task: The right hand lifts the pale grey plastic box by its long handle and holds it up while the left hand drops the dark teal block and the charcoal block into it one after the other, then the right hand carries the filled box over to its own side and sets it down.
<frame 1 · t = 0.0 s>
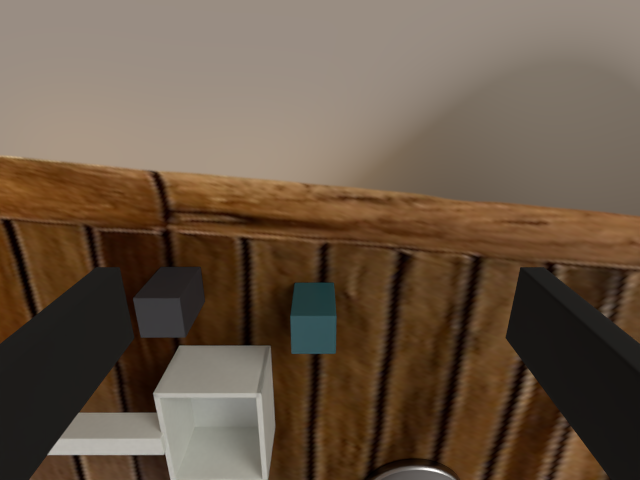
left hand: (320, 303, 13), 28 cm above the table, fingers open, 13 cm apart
teal block: (314, 299, 45), on the table
handled box: (229, 387, 50), on the table
charcoal block: (183, 284, 44), on the table
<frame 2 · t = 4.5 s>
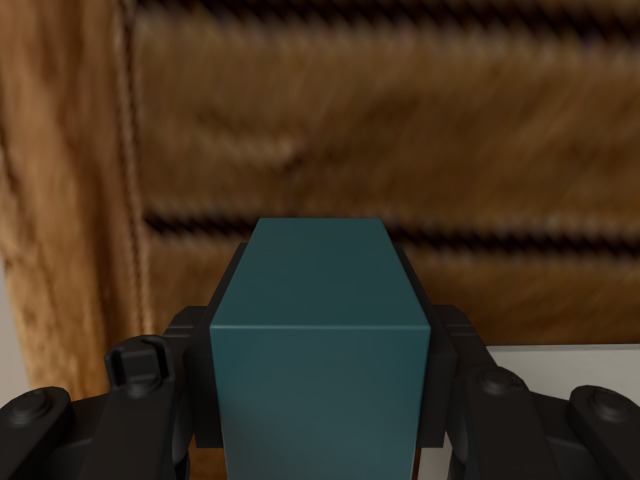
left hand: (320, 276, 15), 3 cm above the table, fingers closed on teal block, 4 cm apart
teal block: (320, 272, 15), point 2 cm above the table, touching left hand
handled box: (540, 427, 22), on the table
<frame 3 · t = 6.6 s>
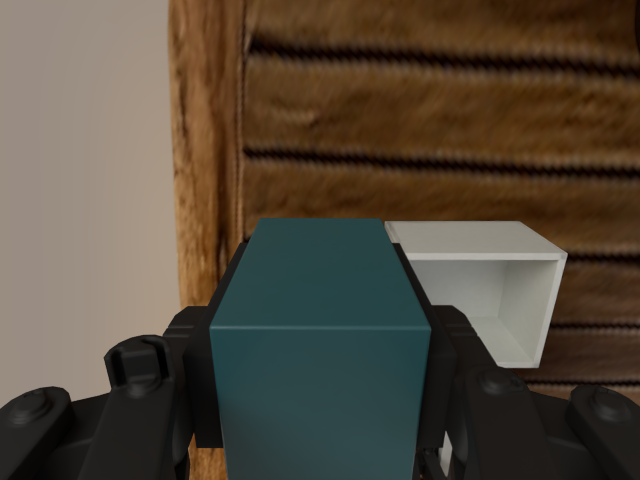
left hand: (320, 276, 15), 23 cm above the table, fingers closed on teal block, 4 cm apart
teal block: (320, 272, 15), point 22 cm above the table, touching left hand
handled box: (445, 272, 40), on the table, touching right hand
when the left hand's fingers open (20 cm above the table, at t = 10.7 s): teal block drops 11 cm, resting on handled box.
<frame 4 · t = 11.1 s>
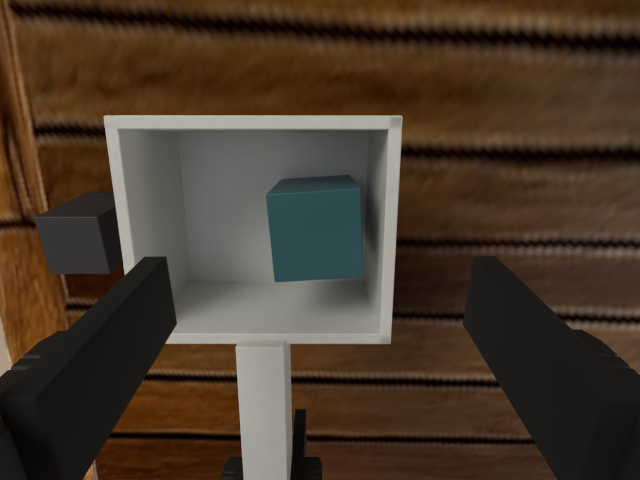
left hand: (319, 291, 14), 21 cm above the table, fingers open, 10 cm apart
teal block: (317, 211, 25), point 8 cm above the table, tilted 7°, touching handled box
handled box: (276, 209, 26), point 8 cm above the table, tilted 7°, touching right hand, teal block
charcoal block: (119, 216, 35), on the table
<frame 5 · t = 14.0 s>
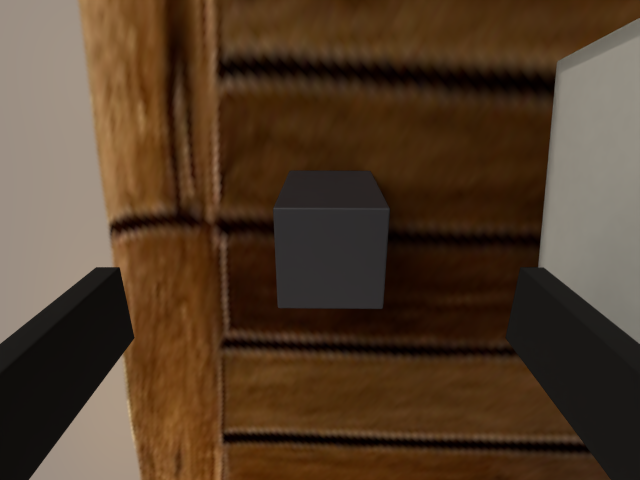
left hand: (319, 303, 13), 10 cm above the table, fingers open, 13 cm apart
charcoal block: (329, 209, 22), on the table
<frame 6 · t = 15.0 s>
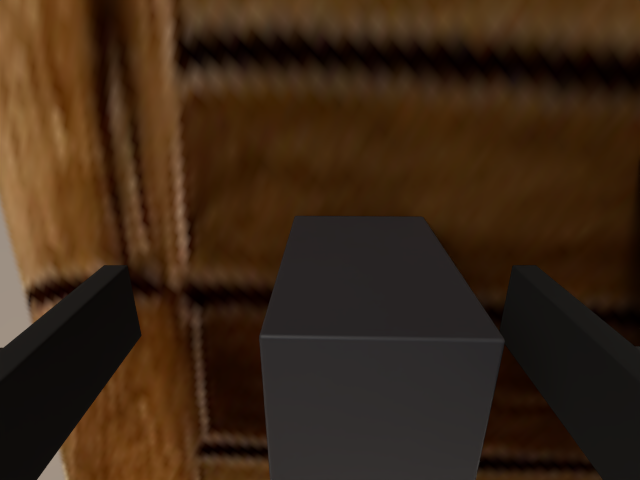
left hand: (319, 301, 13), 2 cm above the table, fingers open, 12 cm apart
charcoal block: (356, 273, 14), on the table
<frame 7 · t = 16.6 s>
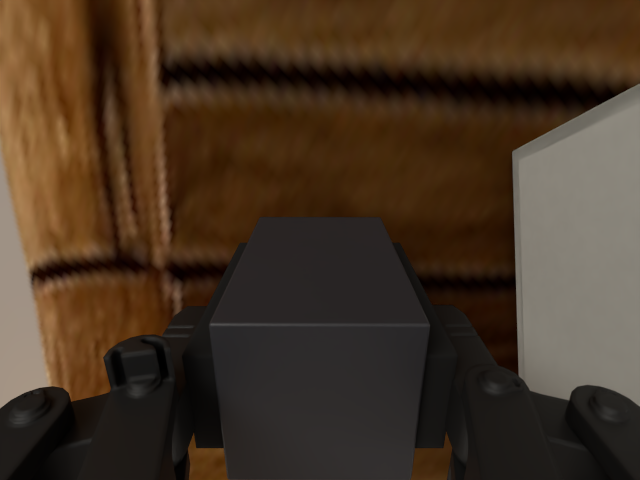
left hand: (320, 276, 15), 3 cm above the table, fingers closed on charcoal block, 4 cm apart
charcoal block: (320, 271, 15), point 3 cm above the table, touching left hand
when the left hand's fingers open (20 cm above the table, at t = 19.6 s): charcoal block drops 18 cm, resting on handled box.
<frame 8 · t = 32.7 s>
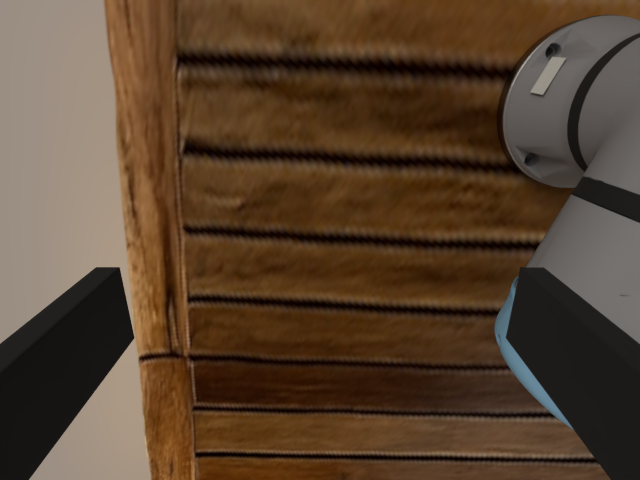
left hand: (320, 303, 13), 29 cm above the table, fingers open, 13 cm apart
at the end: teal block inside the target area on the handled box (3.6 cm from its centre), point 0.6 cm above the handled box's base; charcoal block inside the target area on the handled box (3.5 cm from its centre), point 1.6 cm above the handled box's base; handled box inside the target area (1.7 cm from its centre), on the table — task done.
